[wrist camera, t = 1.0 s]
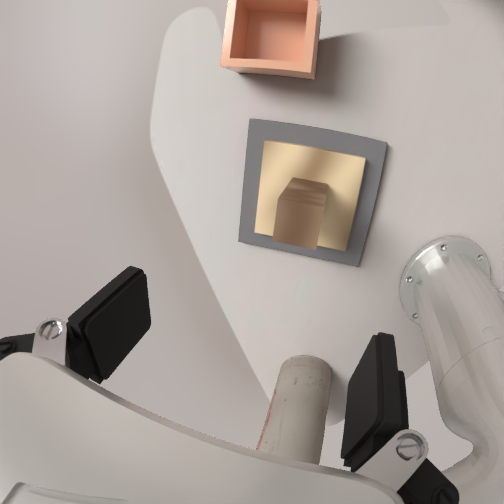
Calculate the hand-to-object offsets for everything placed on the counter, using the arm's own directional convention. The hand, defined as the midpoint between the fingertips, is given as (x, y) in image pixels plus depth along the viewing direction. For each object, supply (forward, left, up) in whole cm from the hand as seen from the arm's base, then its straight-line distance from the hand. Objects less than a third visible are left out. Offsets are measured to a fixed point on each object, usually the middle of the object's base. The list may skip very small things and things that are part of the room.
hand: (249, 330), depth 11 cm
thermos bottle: (-5, +27, -23) cm, 36 cm away
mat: (0, 0, -23) cm, 23 cm away
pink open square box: (+5, -16, -23) cm, 28 cm away
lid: (0, 0, -22) cm, 22 cm away
